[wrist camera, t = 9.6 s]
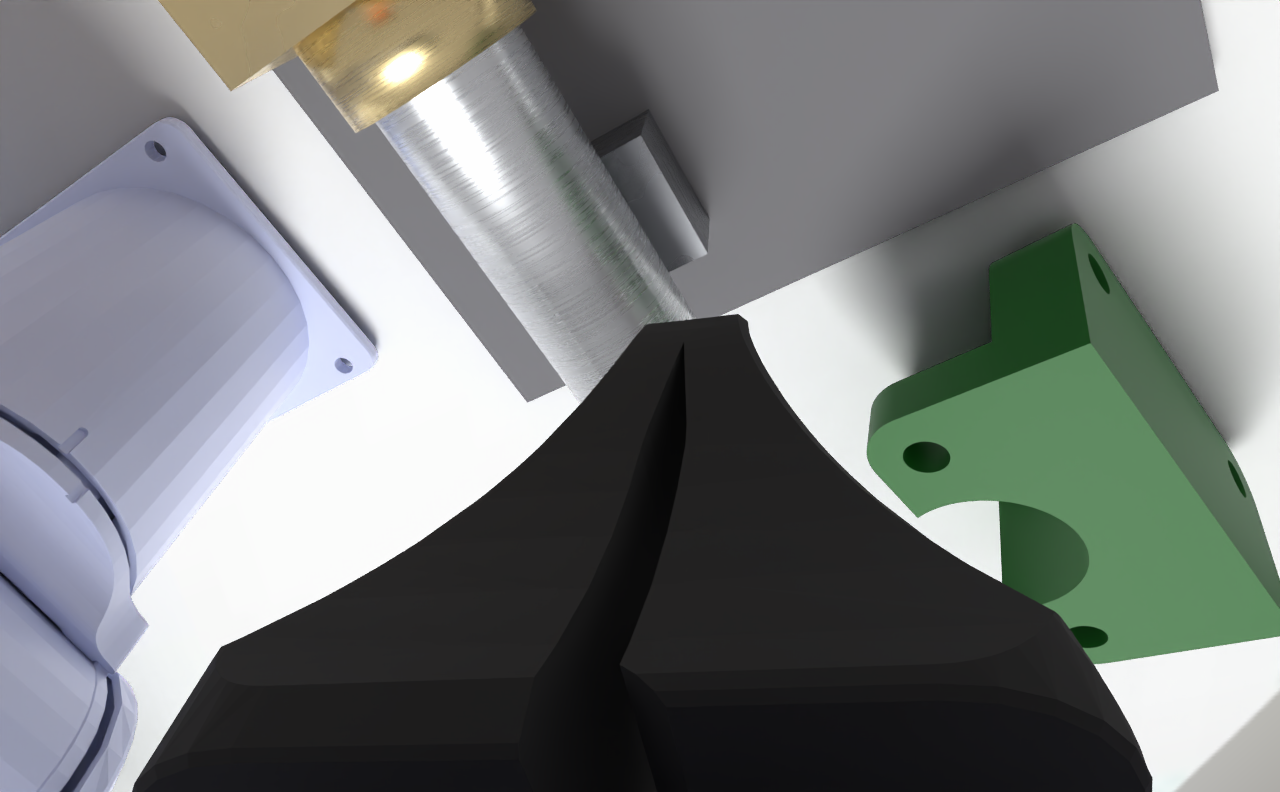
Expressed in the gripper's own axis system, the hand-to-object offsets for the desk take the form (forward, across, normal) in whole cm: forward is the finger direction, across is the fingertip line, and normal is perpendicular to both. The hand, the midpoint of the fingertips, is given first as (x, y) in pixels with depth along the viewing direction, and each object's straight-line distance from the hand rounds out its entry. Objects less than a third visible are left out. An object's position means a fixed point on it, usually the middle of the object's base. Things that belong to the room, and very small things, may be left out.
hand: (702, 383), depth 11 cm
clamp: (+11, -8, +9) cm, 16 cm away
